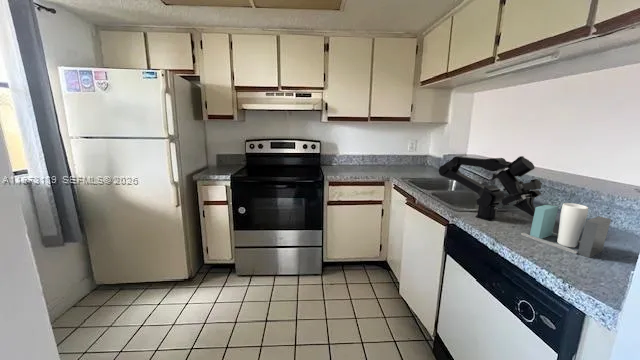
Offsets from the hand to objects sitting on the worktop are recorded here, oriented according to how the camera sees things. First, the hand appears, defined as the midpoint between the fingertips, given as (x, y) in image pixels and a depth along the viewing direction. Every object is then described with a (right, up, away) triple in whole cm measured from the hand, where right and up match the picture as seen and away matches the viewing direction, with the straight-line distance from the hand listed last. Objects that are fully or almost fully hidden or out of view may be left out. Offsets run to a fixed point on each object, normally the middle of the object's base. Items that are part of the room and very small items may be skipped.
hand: (535, 216), depth 106 cm
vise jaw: (+1, -8, -1) cm, 8 cm away
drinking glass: (+5, -10, -8) cm, 13 cm away
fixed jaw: (+4, -9, -6) cm, 12 cm away
